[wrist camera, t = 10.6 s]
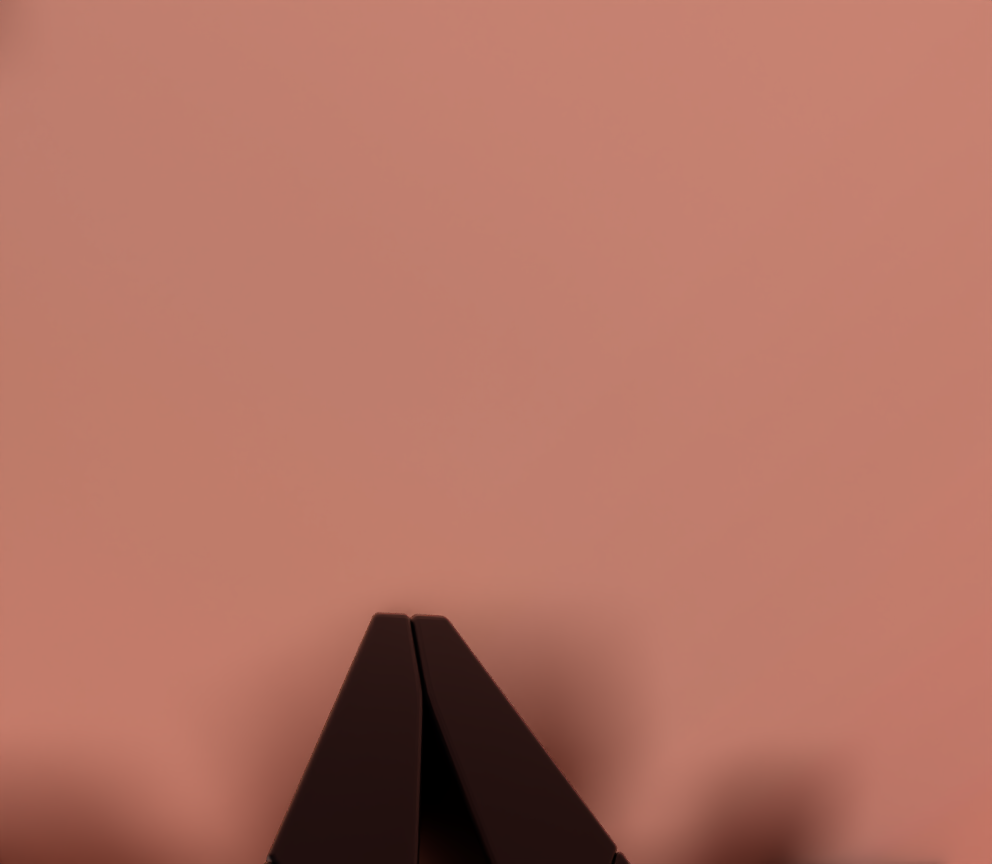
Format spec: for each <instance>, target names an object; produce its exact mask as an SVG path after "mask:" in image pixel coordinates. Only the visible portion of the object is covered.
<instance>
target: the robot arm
mask: <svg viewBox="0 0 992 864" xmlns="http://www.w3.org/2000/svg"><path fill="white" fill-rule="evenodd" d="M616 851H617V846H616V844H615V843H614V842H613V840H612V839H611V838H610V836H609V835H608V833H607V832H606V831H605V829H604V828H603V827H602V825H601V824H600V823H599V821H598V820H597V819H596V817H595V816H594V815H593V813H592V812H591V811H590V809H589V808H588V807H587V805H586V804H585V803H584V801H583V800H582V799H581V797H580V796H579V794H578V793H577V792H576V790H575V789H574V788H573V786H572V785H571V784H570V782H569V781H568V780H567V778H566V777H565V776H564V774H563V773H562V772H561V770H560V769H559V768H558V766H557V765H556V764H555V762H554V761H553V759H552V758H551V757H550V755H549V754H548V753H547V751H546V750H545V749H544V747H543V746H542V745H541V743H540V742H539V741H538V739H537V738H536V737H535V735H534V734H533V733H532V731H531V730H530V729H529V727H528V726H527V725H526V723H525V722H524V720H523V719H522V718H521V716H520V715H519V714H518V712H517V711H516V710H515V708H514V707H513V706H512V704H511V703H510V702H509V700H508V699H507V698H506V696H505V695H504V694H503V692H502V691H501V690H500V688H499V687H498V686H497V684H496V683H495V681H494V680H493V679H492V677H491V676H490V675H489V673H488V672H487V671H486V669H485V668H484V667H483V665H482V664H481V663H480V661H479V660H478V659H477V657H476V656H475V655H474V653H473V652H472V651H471V649H470V648H469V646H468V645H467V644H466V642H465V641H464V640H463V638H462V637H461V636H460V634H459V633H458V632H457V630H456V629H455V628H454V626H453V625H452V624H451V622H450V621H449V620H448V619H447V618H446V617H444V616H438V615H418V614H417V615H414V616H412V617H411V618H409V617H408V616H407V615H406V614H398V613H376V614H375V615H374V616H373V617H372V619H371V621H370V623H369V626H368V628H367V630H366V632H365V635H364V637H363V639H362V642H361V644H360V646H359V648H358V651H357V653H356V655H355V658H354V660H353V662H352V664H351V667H350V669H349V671H348V673H347V676H346V678H345V680H344V683H343V685H342V687H341V689H340V692H339V694H338V696H337V698H336V701H335V703H334V705H333V708H332V710H331V712H330V714H329V717H328V719H327V721H326V723H325V726H324V728H323V730H322V733H321V735H320V737H319V739H318V742H317V744H316V746H315V748H314V751H313V753H312V755H311V758H310V760H309V762H308V764H307V767H306V769H305V771H304V774H303V776H302V778H301V780H300V783H299V785H298V787H297V789H296V792H295V794H294V796H293V799H292V801H291V803H290V805H289V808H288V810H287V812H286V814H285V817H284V819H283V821H282V824H281V826H280V828H279V830H278V833H277V835H276V837H275V839H274V842H273V844H272V846H271V849H270V851H269V853H268V855H267V860H266V863H264V864H630V863H629V861H628V860H627V859H626V857H625V856H624V855H623V853H621V852H618V853H616ZM615 854H616V855H615Z"/></svg>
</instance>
